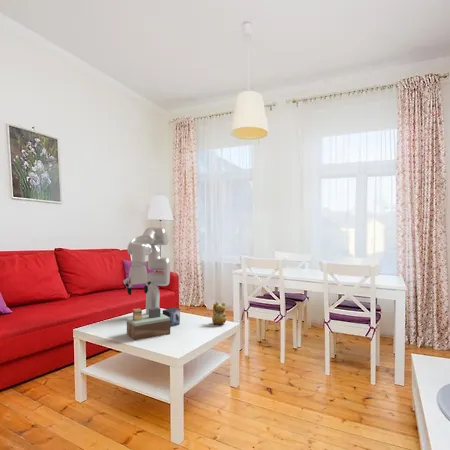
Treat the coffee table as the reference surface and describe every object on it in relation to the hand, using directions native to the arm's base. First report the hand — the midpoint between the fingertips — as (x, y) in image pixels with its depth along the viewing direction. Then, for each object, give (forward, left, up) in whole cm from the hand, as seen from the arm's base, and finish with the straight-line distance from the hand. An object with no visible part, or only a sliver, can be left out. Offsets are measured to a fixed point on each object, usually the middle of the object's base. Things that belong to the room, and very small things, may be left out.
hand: (137, 293), depth 190 cm
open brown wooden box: (0, +7, -25) cm, 26 cm away
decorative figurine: (+6, +54, -25) cm, 60 cm away
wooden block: (0, 0, -15) cm, 15 cm away
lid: (-1, +7, -17) cm, 18 cm away
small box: (-9, +26, -25) cm, 38 cm away
